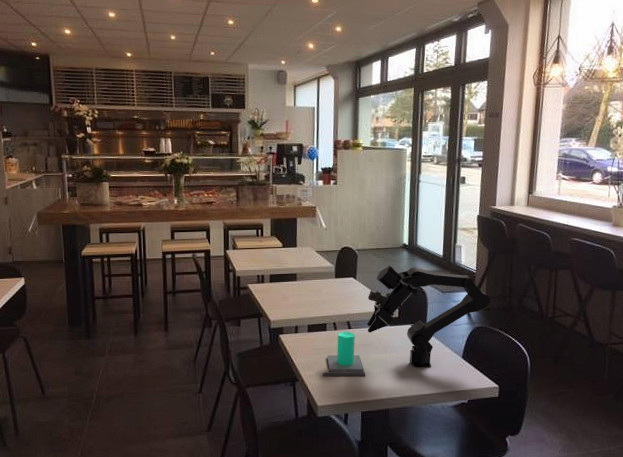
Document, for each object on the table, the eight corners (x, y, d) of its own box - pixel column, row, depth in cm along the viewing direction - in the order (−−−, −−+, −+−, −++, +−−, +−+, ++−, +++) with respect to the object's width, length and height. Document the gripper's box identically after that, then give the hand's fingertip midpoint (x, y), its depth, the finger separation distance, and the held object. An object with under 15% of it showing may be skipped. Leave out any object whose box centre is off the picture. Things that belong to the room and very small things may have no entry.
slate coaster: (359, 357, 205) (359, 355, 205) (363, 371, 193) (363, 369, 193) (327, 357, 205) (327, 355, 204) (329, 371, 193) (329, 369, 193)
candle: (347, 366, 195) (348, 334, 193) (333, 362, 198) (334, 330, 196) (356, 361, 199) (358, 330, 197) (343, 357, 203) (344, 326, 201)
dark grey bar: (364, 375, 191) (364, 371, 191) (365, 377, 190) (365, 373, 190) (322, 375, 190) (322, 371, 190) (322, 377, 189) (322, 373, 189)
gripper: (379, 277, 206) (351, 308, 207) (381, 286, 187) (351, 319, 189) (401, 297, 206) (373, 327, 207) (406, 308, 187) (375, 341, 189)
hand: (368, 328), depth 198 cm, fingers open, 9 cm apart
